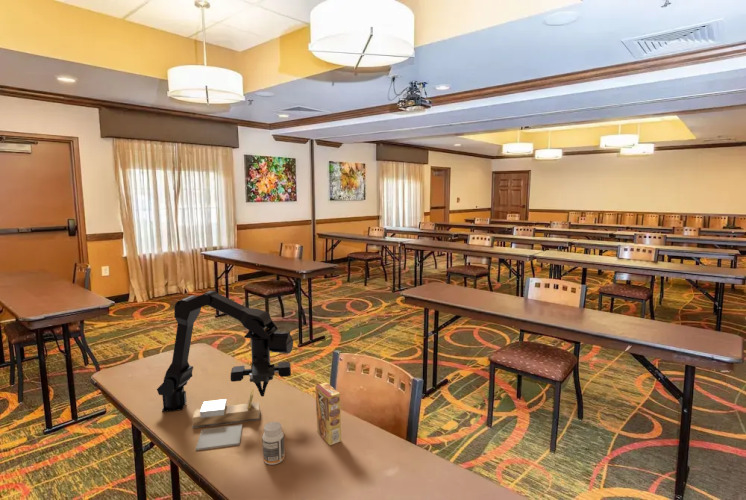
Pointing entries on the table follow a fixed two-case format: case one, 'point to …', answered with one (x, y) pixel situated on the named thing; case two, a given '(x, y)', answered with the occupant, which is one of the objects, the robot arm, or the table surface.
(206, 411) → the cap plate
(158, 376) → the table surface
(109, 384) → the table surface
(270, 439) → the pill bottle
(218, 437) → the mat
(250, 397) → the gold flat block
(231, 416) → the body
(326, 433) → the candy box
